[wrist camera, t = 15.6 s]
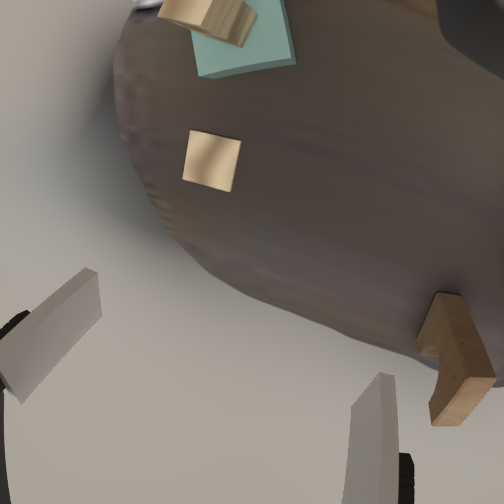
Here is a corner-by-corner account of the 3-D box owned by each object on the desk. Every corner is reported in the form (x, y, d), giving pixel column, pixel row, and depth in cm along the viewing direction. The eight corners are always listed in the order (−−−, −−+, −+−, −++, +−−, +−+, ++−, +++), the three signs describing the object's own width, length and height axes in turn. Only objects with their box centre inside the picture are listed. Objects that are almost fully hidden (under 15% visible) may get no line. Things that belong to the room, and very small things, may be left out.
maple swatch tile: (241, 141, 43) (240, 141, 42) (230, 191, 47) (229, 192, 46) (192, 129, 44) (190, 130, 43) (184, 178, 48) (182, 179, 47)
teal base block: (282, -8, 31) (274, -23, 26) (297, 64, 36) (291, 58, 31) (203, 10, 35) (186, 0, 29) (215, 79, 40) (198, 76, 34)
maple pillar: (258, 15, 29) (222, -19, 19) (242, 48, 31) (200, 25, 21) (222, 5, 29) (177, -26, 19) (207, 37, 32) (157, 16, 21)
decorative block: (439, 342, 49) (459, 427, 32) (414, 338, 50) (429, 427, 33) (462, 294, 44) (499, 379, 26) (436, 290, 45) (468, 378, 27)
